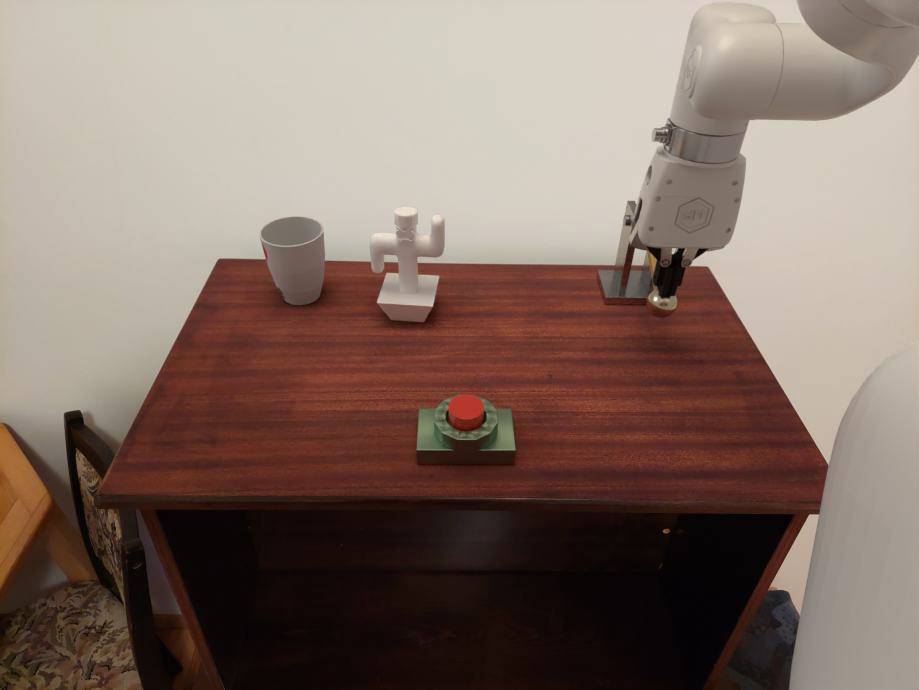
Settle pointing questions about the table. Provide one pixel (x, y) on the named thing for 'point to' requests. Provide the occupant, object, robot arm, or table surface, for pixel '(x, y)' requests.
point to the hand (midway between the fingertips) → (664, 289)
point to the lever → (659, 297)
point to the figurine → (407, 266)
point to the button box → (465, 437)
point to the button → (466, 412)
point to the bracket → (626, 270)
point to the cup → (295, 257)
